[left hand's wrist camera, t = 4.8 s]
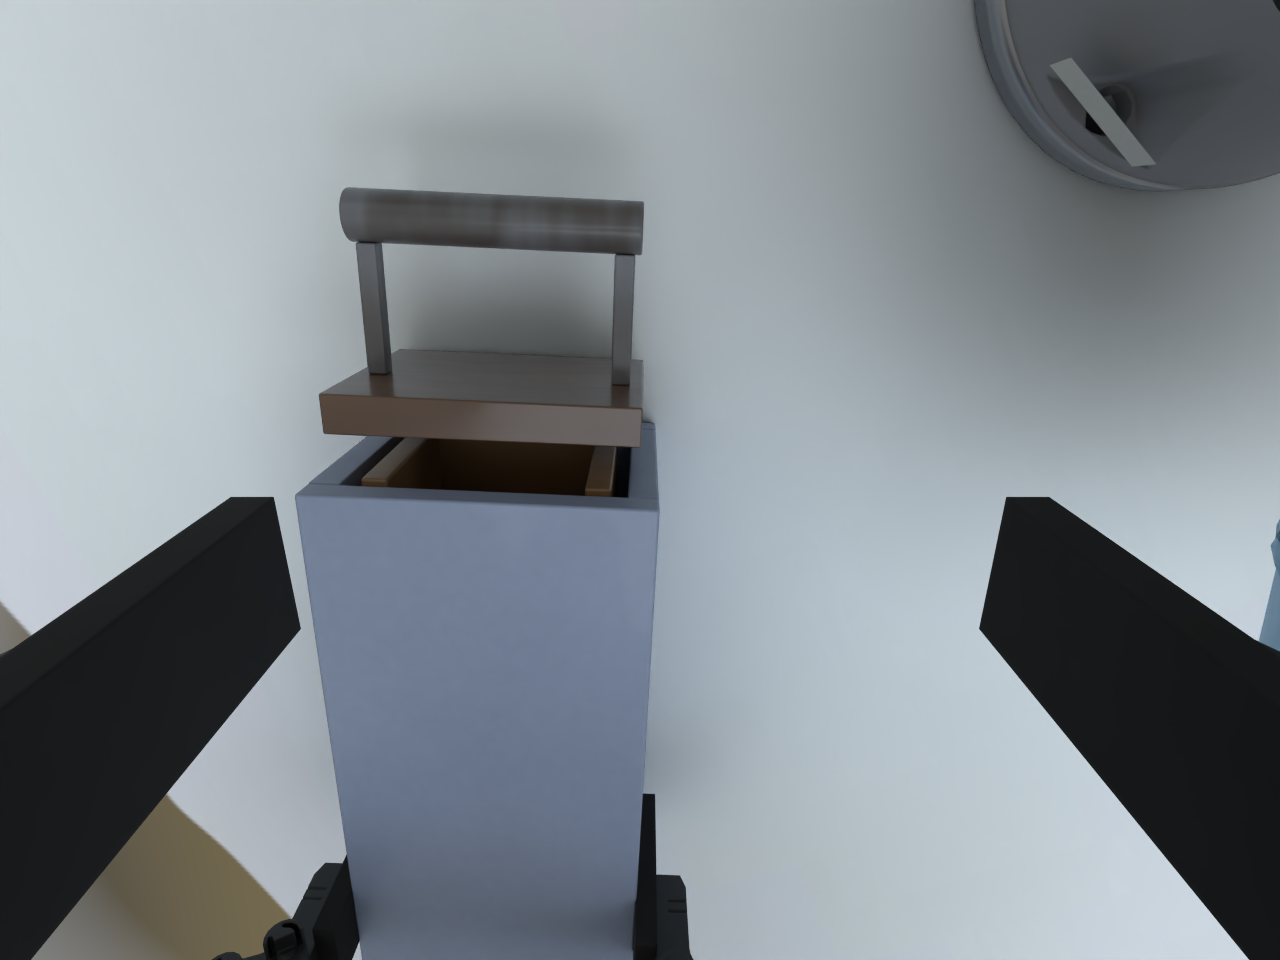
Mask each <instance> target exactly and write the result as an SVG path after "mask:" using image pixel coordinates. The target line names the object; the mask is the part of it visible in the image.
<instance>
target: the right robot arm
mask: <svg viewBox="0 0 1280 960" xmlns="http://www.w3.org/2000/svg"><path fill="white" fill-rule="evenodd" d="M358 943H359V934H358V927H357V920H356V913H355V906H354V899H353V892H352V885H351V879H350V872H349V865H348V858H347V855H346V857H345V859H344V862H343V863H325V864H324V865H323V866H322V867H321V868H320V869H319V870H318V871H317V872H316V873H315V874H314V876H313V878H312V880H311V882H310V884H309V886H308V889H307V890H306V892H305V894H304V896H303V899H302V900H301V902H300V904H299V906H298V908H297V910H296V912H295V914H294V916H293V918H292V919H288V920H284V921H281V922H279V923H277V924H276V925H274V926H273V927H272V928H271V929H270V930H269V931H268V932H267V934H266V936H265V937H264V942H263V947H264V953H261V954H259V955H255V956H251V957H247V958H244V959H242V958H241V956H240V955H239V954H237V953H235V952H226V953H223V954H221V955H218V956H217V957H215V958H214V959H212V960H352V958H353V956H354V953H355V951H356V948H357V946H358ZM633 960H693V958H692V956H691V954H690V949H689V936H688V919H687V903H686V887H685V885H684V883H683V881H682V879H681V877H680V876H678V875H656V829H655V794H643V797H642V814H641V830H640V847H639V864H638V881H637V898H636V909H635V926H634V943H633Z"/></svg>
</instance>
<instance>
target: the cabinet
mask: <svg viewBox="0 0 1280 960" xmlns="http://www.w3.org/2000/svg"><path fill="white" fill-rule="evenodd" d="M405 438H406V437H383V436H367V437H366V438H364V439H363V440H362V441H361V442H359V443H358V444H357V445H356V446H354V447H353V448H352V449H351V450H349V451H348V452H347V453H346V454H344V455H343V456H342V457H341V458H339V459H338V460H337V461H336V462H334V463H333V464H332V465H331V466H329V467H328V468H327V469H326V470H324V471H323V472H322V473H321V474H319V475H318V476H317V477H316V478H314V479H313V480H312V481H311V482H309V485H307V486H306V487H304V488H303V489H302V490H301V491H299V492H298V493H297V494H296V495H295V500H296V507H297V514H298V521H299V528H300V535H301V541H302V548H303V555H304V562H305V569H306V576H307V583H308V590H309V596H310V603H311V610H312V617H313V624H314V631H315V638H316V645H317V652H318V658H319V665H320V672H321V679H322V686H323V693H324V700H325V707H326V713H327V720H328V727H329V734H330V741H331V748H332V755H333V762H334V768H335V775H336V782H337V789H338V796H339V803H340V810H341V817H342V824H343V830H344V837H345V844H346V851H347V858H348V865H349V872H350V879H351V885H352V892H353V899H354V906H355V913H356V920H357V927H358V934H359V941H360V947H361V954H362V960H633V943H634V926H635V909H636V898H637V881H638V864H639V847H640V830H641V814H642V797H643V780H644V763H645V746H646V730H647V713H648V696H649V679H650V662H651V645H652V629H653V612H654V595H655V578H656V561H657V544H658V528H659V493H658V474H657V454H656V434H655V424H654V423H642V438H641V447H640V448H633V447H618V465H617V494H616V497H597V496H573V495H550V494H527V493H504V492H481V491H458V490H435V489H412V488H389V487H365V486H362V481H361V480H362V478H363V477H364V476H365V475H366V474H367V473H368V472H369V471H371V470H372V469H373V468H374V467H375V466H376V465H377V464H378V463H379V462H380V461H381V460H382V459H383V458H384V457H385V456H387V455H388V454H389V453H390V452H391V451H392V450H393V449H394V448H395V447H396V446H397V445H398V444H399V443H400V442H401V441H403V440H404V439H405Z"/></svg>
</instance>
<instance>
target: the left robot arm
mask: <svg viewBox="0 0 1280 960" xmlns="http://www.w3.org/2000/svg"><path fill="white" fill-rule="evenodd" d="M975 8H976V15H977V22H978V29H979V34H980V38H981V43H982V47H983V51H984V55H985V58H986V61H987V64H988V67H989V70H990V73H991V75H992V78H993V80H994V83H995V85H996V87H997V89H998V91H999V93H1000V95H1001V97H1002V99H1003V101H1004V103H1005V104H1006V106H1007V107H1008V109H1009V111H1010V112H1011V114H1012V116H1013V117H1014V119H1015V120H1016V121H1017V122H1018V124H1019V125H1020V126H1021V127H1022V129H1023V130H1024V131H1025V133H1026V134H1027V135H1028V136H1029V137H1030V138H1031V139H1032V140H1033V141H1034V142H1035V143H1036V144H1037V145H1038V146H1039V147H1040V148H1041V149H1042V150H1044V151H1045V152H1046V153H1047V154H1049V155H1050V156H1051V157H1053V158H1054V159H1055V160H1056V161H1058V162H1060V163H1061V164H1063V165H1065V166H1066V167H1068V168H1070V169H1071V170H1073V171H1075V172H1077V173H1079V174H1081V175H1084V176H1086V177H1088V178H1090V179H1093V180H1096V181H1099V182H1102V183H1105V184H1109V185H1112V186H1117V187H1123V188H1128V189H1136V190H1151V191H1158V190H1183V189H1206V188H1218V187H1225V186H1232V185H1238V184H1242V183H1246V182H1250V181H1255V180H1259V179H1262V178H1265V177H1268V176H1271V175H1274V174H1277V173H1280V0H975ZM1271 549H1272V554H1273V559H1274V563H1275V566H1276V571H1275V575H1274V580H1273V584H1272V588H1271V592H1270V596H1269V600H1268V605H1267V609H1266V613H1265V617H1264V621H1263V626H1262V630H1261V634H1260V638H1259V641H1256V640H1254V639H1253V638H1251V637H1250V636H1248V635H1247V634H1246V633H1244V632H1243V631H1241V630H1240V629H1238V628H1237V627H1235V626H1234V625H1233V624H1231V623H1230V622H1228V621H1227V620H1225V619H1224V618H1223V617H1221V616H1220V615H1218V614H1217V613H1215V612H1214V611H1212V610H1211V609H1210V608H1208V607H1207V606H1205V605H1204V604H1202V603H1201V602H1199V601H1198V600H1197V599H1195V598H1194V597H1192V596H1191V595H1189V594H1188V593H1187V592H1185V591H1184V590H1182V589H1181V588H1179V587H1178V586H1176V585H1175V584H1174V583H1172V582H1171V581H1169V580H1168V579H1166V578H1165V577H1163V576H1162V575H1161V574H1159V573H1158V572H1156V571H1155V570H1153V569H1152V568H1151V567H1149V566H1148V565H1146V564H1145V563H1143V562H1142V561H1140V560H1139V559H1138V558H1136V557H1135V556H1133V555H1132V554H1130V553H1129V552H1127V551H1126V550H1125V549H1123V548H1122V547H1120V546H1119V545H1117V544H1116V543H1115V542H1113V541H1112V540H1110V539H1109V538H1107V537H1106V536H1104V535H1103V534H1102V533H1100V532H1099V531H1097V530H1096V529H1094V528H1093V527H1091V526H1090V525H1089V524H1087V523H1086V522H1084V521H1083V520H1081V519H1080V518H1079V517H1077V516H1076V515H1074V514H1073V513H1071V512H1070V511H1068V510H1067V509H1066V508H1064V507H1063V506H1061V505H1060V504H1058V503H1057V502H1055V501H1054V500H1053V499H1051V498H1050V497H1006V501H1005V506H1004V511H1003V516H1002V521H1001V525H1000V530H999V535H998V540H997V545H996V550H995V555H994V559H993V564H992V569H991V574H990V579H989V584H988V589H987V593H986V598H985V603H984V608H983V613H982V618H981V623H980V627H979V629H980V630H981V632H982V633H983V634H984V635H985V636H986V638H987V639H988V640H989V641H990V643H991V644H992V645H993V646H994V648H995V649H996V650H997V651H998V652H999V654H1000V655H1001V656H1002V657H1003V659H1004V660H1005V661H1006V662H1007V663H1008V665H1009V666H1010V667H1011V668H1012V670H1013V671H1014V672H1015V673H1016V674H1017V676H1018V677H1019V678H1020V679H1021V681H1022V682H1023V683H1024V684H1025V686H1026V687H1027V688H1028V689H1029V690H1030V692H1031V693H1032V694H1033V695H1034V697H1035V698H1036V699H1037V700H1038V701H1039V703H1040V704H1041V705H1042V706H1043V708H1044V709H1045V710H1046V711H1047V712H1048V714H1049V715H1050V716H1051V717H1052V719H1053V720H1054V721H1055V722H1056V724H1057V725H1058V726H1059V727H1060V728H1061V730H1062V731H1063V732H1064V733H1065V735H1066V736H1067V737H1068V738H1069V739H1070V741H1071V742H1072V743H1073V744H1074V746H1075V747H1076V748H1077V749H1078V750H1079V752H1080V753H1081V754H1082V755H1083V757H1084V758H1085V759H1086V760H1087V762H1088V763H1089V764H1090V765H1091V766H1092V768H1093V769H1094V770H1095V771H1096V773H1097V774H1098V775H1099V776H1100V777H1101V779H1102V780H1103V781H1104V782H1105V784H1106V785H1107V786H1108V787H1109V788H1110V790H1111V791H1112V792H1113V793H1114V795H1115V796H1116V797H1117V798H1118V800H1119V801H1120V802H1121V803H1122V804H1123V806H1124V807H1125V808H1126V809H1127V811H1128V812H1129V813H1130V814H1131V815H1132V817H1133V818H1134V819H1135V820H1136V822H1137V823H1138V824H1139V825H1140V826H1141V828H1142V829H1143V830H1144V831H1145V833H1146V834H1147V835H1148V836H1149V837H1150V839H1151V840H1152V841H1153V842H1154V844H1155V845H1156V846H1157V847H1158V849H1159V850H1160V851H1161V852H1162V853H1163V855H1164V856H1165V857H1166V858H1167V860H1168V861H1169V862H1170V863H1171V864H1172V866H1173V867H1174V868H1175V869H1176V871H1177V872H1178V873H1179V874H1180V875H1181V877H1182V878H1183V879H1184V880H1185V882H1186V883H1187V884H1188V885H1189V887H1190V888H1191V889H1192V890H1193V891H1194V893H1195V894H1196V895H1197V896H1198V898H1199V899H1200V900H1201V901H1202V902H1203V904H1204V905H1205V906H1206V907H1207V909H1208V910H1209V911H1210V912H1211V913H1212V915H1213V916H1214V917H1215V918H1216V920H1217V921H1218V922H1219V923H1220V925H1221V926H1222V927H1223V928H1224V929H1225V931H1226V932H1227V933H1228V934H1229V936H1230V937H1231V938H1232V939H1233V940H1234V942H1235V943H1236V944H1237V945H1238V947H1239V948H1240V949H1241V950H1242V951H1243V953H1244V954H1245V955H1246V956H1247V958H1248V959H1249V960H1280V520H1279V522H1278V523H1277V528H1276V538H1275V540H1274V541H1273V543H1272V544H1271ZM300 629H301V627H300V623H299V618H298V613H297V608H296V603H295V598H294V593H293V589H292V584H291V579H290V574H289V569H288V564H287V559H286V555H285V550H284V545H283V540H282V535H281V530H280V526H279V521H278V516H277V511H276V506H275V501H274V497H230V498H229V499H227V500H226V501H225V502H223V503H222V504H220V505H219V506H217V507H216V508H214V509H213V510H212V511H210V512H209V513H207V514H206V515H204V516H203V517H201V518H200V519H199V520H197V521H196V522H194V523H193V524H191V525H190V526H189V527H187V528H186V529H184V530H183V531H181V532H180V533H178V534H177V535H176V536H174V537H173V538H171V539H170V540H168V541H167V542H165V543H164V544H163V545H161V546H160V547H158V548H157V549H155V550H154V551H153V552H151V553H150V554H148V555H147V556H145V557H144V558H142V559H141V560H140V561H138V562H137V563H135V564H134V565H132V566H131V567H129V568H128V569H127V570H125V571H124V572H122V573H121V574H119V575H118V576H117V577H115V578H114V579H112V580H111V581H109V582H108V583H106V584H105V585H104V586H102V587H101V588H99V589H98V590H96V591H95V592H93V593H92V594H91V595H89V596H88V597H86V598H85V599H83V600H82V601H81V602H79V603H78V604H76V605H75V606H73V607H72V608H70V609H69V610H68V611H66V612H65V613H63V614H62V615H60V616H59V617H57V618H56V619H55V620H53V621H52V622H50V623H49V624H47V625H46V626H45V627H43V628H42V629H40V630H39V631H37V632H36V633H34V634H33V635H32V636H30V637H29V638H27V639H26V640H24V641H23V642H21V643H20V644H19V645H17V646H16V647H14V648H13V649H11V650H9V651H7V652H5V653H3V654H0V960H31V959H32V958H33V956H34V955H35V954H36V953H37V951H38V950H39V949H40V948H41V947H42V945H43V944H44V943H45V942H46V940H47V939H48V938H49V937H50V936H51V934H52V933H53V932H54V931H55V929H56V928H57V927H58V926H59V924H60V923H61V922H62V921H63V920H64V918H65V917H66V916H67V915H68V913H69V912H70V911H71V910H72V909H73V907H74V906H75V905H76V904H77V902H78V901H79V900H80V899H81V898H82V896H83V895H84V894H85V893H86V891H87V890H88V889H89V888H90V887H91V885H92V884H93V883H94V882H95V880H96V879H97V878H98V877H99V875H100V874H101V873H102V872H103V871H104V869H105V868H106V867H107V866H108V864H109V863H110V862H111V861H112V860H113V858H114V857H115V856H116V855H117V853H118V852H119V851H120V850H121V848H122V847H123V846H124V845H125V844H126V842H127V841H128V840H129V839H130V837H131V836H132V835H133V834H134V833H135V831H136V830H137V829H138V828H139V826H140V825H141V824H142V823H143V821H144V820H145V819H146V818H147V817H148V815H149V814H150V813H151V812H152V811H153V809H154V808H155V807H156V806H157V804H158V803H159V802H160V801H161V800H162V798H163V797H164V796H165V795H166V793H167V792H168V791H169V790H170V788H171V787H172V786H173V785H174V784H175V782H176V781H177V780H178V779H179V777H180V776H181V775H182V774H183V773H184V771H185V770H186V769H187V768H188V766H189V765H190V764H191V763H192V762H193V760H194V759H195V758H196V757H197V755H198V754H199V753H200V752H201V750H202V749H203V748H204V747H205V746H206V744H207V743H208V742H209V741H210V739H211V738H212V737H213V736H214V735H215V733H216V732H217V731H218V730H219V728H220V727H221V726H222V725H223V724H224V722H225V721H226V720H227V719H228V717H229V716H230V715H231V714H232V712H233V711H234V710H235V709H236V708H237V706H238V705H239V704H240V703H241V701H242V700H243V699H244V698H245V697H246V695H247V694H248V693H249V692H250V690H251V689H252V688H253V687H254V686H255V684H256V683H257V682H258V681H259V679H260V678H261V677H262V676H263V674H264V673H265V672H266V671H267V670H268V668H269V667H270V666H271V665H272V663H273V662H274V661H275V660H276V659H277V657H278V656H279V655H280V654H281V652H282V651H283V650H284V649H285V648H286V646H287V645H288V644H289V643H290V641H291V640H292V639H293V638H294V636H295V635H296V634H297V633H298V632H299V630H300Z"/></svg>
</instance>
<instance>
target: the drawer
mask: <svg viewBox="0 0 1280 960" xmlns="http://www.w3.org/2000/svg"><path fill="white" fill-rule="evenodd" d="M339 211H340V220H341V225H342V228H343V231H344V233H345V235H346V237H347V238H348V239H349V240H350V241H352V242H357V243H356V251H357V261H358V271H359V281H360V292H361V302H362V312H363V323H364V333H365V343H366V353H367V364H368V367H367V368H365V369H363V370H361V371H360V372H358V373H356V374H354V375H352V376H351V377H349V378H347V379H345V380H343V381H342V382H340V383H338V384H336V385H334V386H332V387H331V388H329V389H327V390H325V391H323V392H322V393H320V394H319V400H320V408H321V416H322V424H323V432H324V434H338V435H361V436H383V437H406V438H405V439H404V440H403V441H401V442H400V443H399V444H398V445H397V446H396V447H395V448H394V449H393V450H392V451H391V452H390V453H389V454H388V455H387V456H385V457H384V458H383V459H382V460H381V461H380V462H379V463H378V464H377V465H376V466H375V467H374V468H373V469H372V470H371V471H369V472H368V473H367V474H366V475H365V476H364V477H363V478H362V480H361V481H362V486H365V487H389V488H412V489H435V490H458V491H481V492H504V493H527V494H550V495H573V496H597V497H616V494H617V465H618V447H633V448H640V447H641V438H642V417H643V360H631V350H632V325H633V300H634V275H635V255H641V254H642V241H643V218H644V202H642V201H622V200H601V199H580V198H559V197H538V196H517V195H496V194H475V193H454V192H433V191H412V190H392V189H371V188H350V187H348V188H345V189H344V190H343V191H342V194H341V197H340V204H339ZM381 243H393V244H414V245H436V246H457V247H478V248H500V249H521V250H542V251H563V252H585V253H606V254H616V255H615V271H614V304H613V338H612V359H606V358H584V357H562V356H540V355H518V354H496V353H474V352H452V351H430V350H407V349H399V350H398V351H396V352H394V353H392V354H391V348H390V336H389V324H388V312H387V300H386V289H385V277H384V265H383V253H382V244H381Z"/></svg>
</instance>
